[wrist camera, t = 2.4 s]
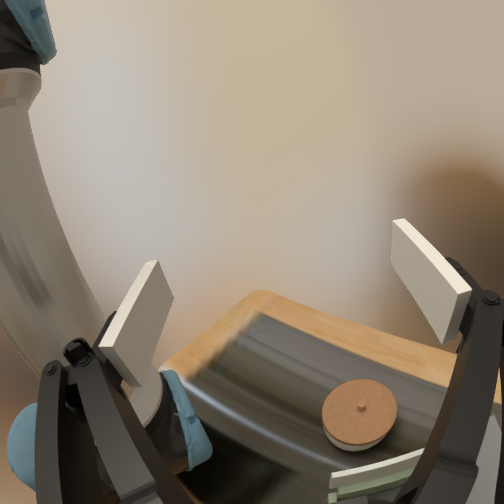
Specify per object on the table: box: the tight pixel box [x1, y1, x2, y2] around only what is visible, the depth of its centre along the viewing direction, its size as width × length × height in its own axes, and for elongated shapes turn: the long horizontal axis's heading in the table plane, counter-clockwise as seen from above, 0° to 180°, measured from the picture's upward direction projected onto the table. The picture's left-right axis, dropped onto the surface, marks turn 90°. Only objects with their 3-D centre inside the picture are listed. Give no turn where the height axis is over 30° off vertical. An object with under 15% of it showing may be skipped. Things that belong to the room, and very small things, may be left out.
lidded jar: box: [322, 379, 398, 451], centre depth 33 cm, size 11×11×9 cm
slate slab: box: [466, 415, 502, 504], centre depth 17 cm, size 13×22×1 cm, turn 179°
